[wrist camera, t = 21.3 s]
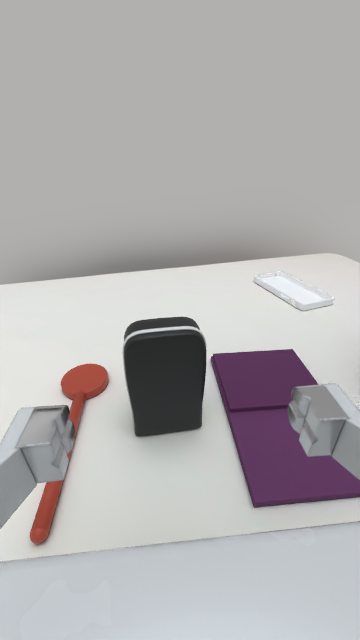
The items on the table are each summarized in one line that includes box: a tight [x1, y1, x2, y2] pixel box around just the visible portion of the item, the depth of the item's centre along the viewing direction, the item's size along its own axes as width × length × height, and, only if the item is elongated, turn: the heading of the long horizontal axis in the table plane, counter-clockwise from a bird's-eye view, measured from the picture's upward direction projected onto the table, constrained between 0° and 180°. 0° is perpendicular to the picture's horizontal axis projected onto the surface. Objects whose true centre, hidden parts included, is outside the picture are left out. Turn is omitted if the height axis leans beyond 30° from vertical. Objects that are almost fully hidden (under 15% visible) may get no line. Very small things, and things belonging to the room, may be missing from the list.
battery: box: [123, 317, 206, 436], centre depth 26 cm, size 7×4×11 cm, turn 99°
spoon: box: [30, 364, 108, 544], centre depth 27 cm, size 5×19×1 cm, turn 5°
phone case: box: [254, 271, 334, 311], centre depth 55 cm, size 7×1×15 cm
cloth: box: [211, 349, 360, 507], centre depth 29 cm, size 11×18×1 cm, turn 5°
